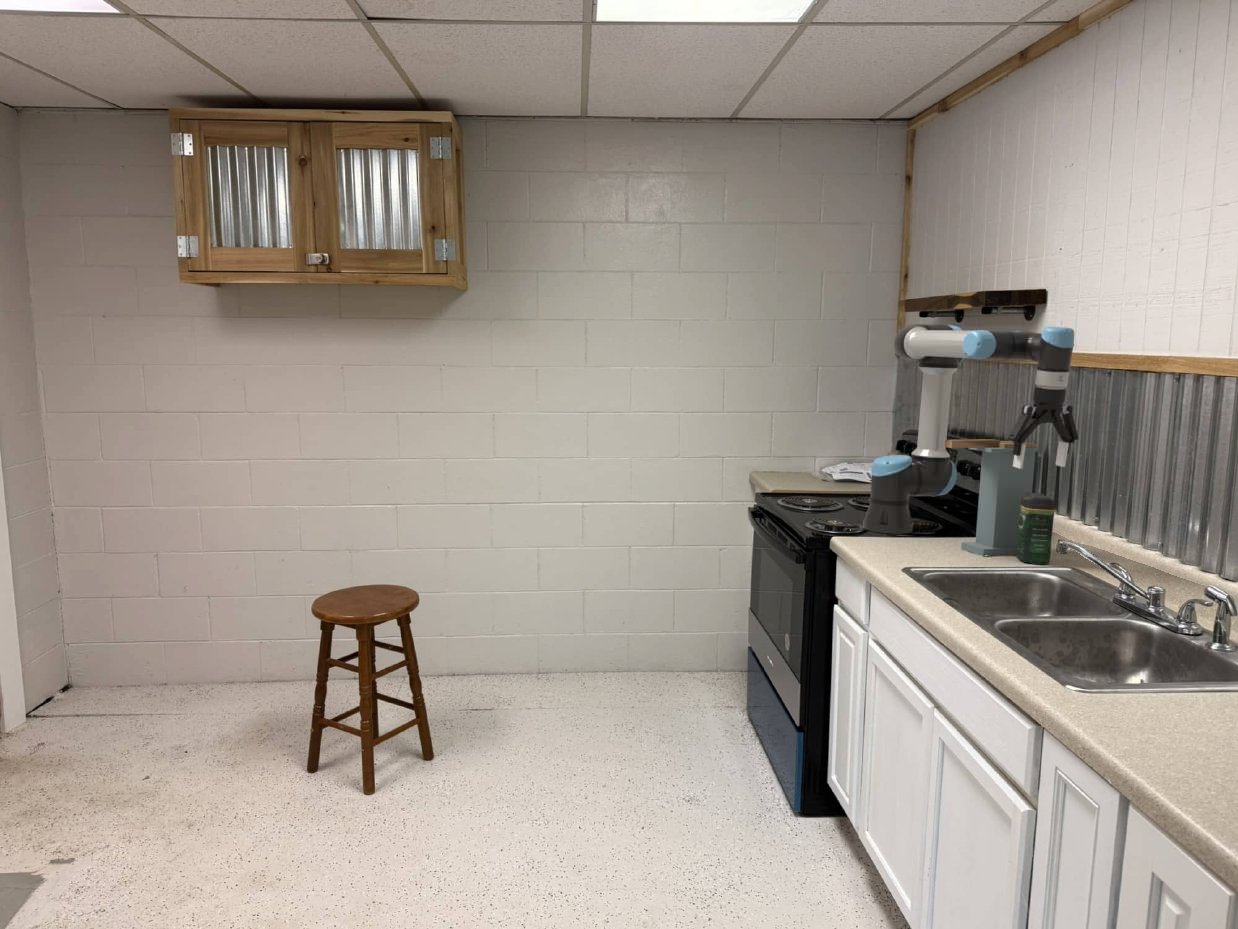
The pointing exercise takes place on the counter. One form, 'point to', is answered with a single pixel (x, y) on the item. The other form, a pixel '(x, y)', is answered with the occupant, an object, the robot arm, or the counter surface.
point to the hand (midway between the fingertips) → (1039, 466)
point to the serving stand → (1000, 500)
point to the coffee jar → (1035, 528)
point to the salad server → (984, 443)
